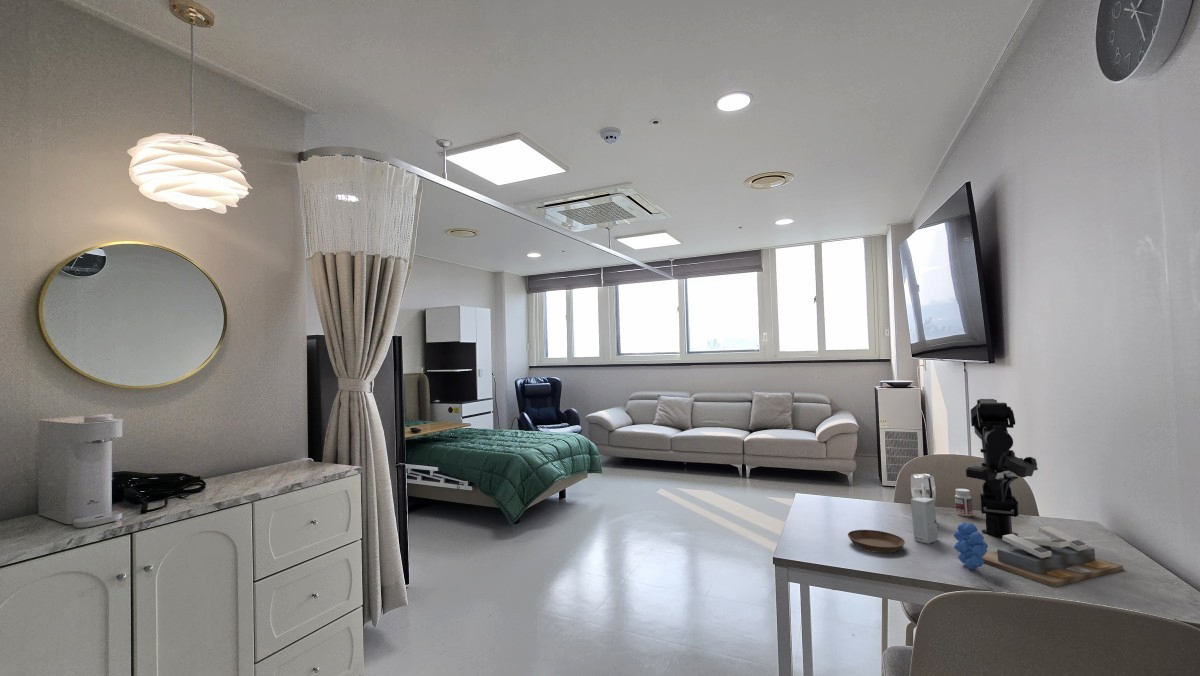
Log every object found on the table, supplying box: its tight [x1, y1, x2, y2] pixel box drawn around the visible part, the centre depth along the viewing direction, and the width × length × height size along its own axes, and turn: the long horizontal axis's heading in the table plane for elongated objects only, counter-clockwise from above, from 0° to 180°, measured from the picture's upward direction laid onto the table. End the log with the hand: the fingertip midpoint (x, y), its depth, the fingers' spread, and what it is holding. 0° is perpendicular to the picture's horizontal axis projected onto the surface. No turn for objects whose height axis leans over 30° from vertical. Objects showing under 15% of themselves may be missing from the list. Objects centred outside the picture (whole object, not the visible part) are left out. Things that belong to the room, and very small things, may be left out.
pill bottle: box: [954, 488, 974, 517], centre depth 172 cm, size 5×5×8 cm
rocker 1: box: [1001, 534, 1052, 558], centre depth 127 cm, size 4×9×1 cm, turn 18°
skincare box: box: [910, 497, 939, 544], centre depth 149 cm, size 6×4×12 cm
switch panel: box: [982, 537, 1124, 588], centre depth 129 cm, size 26×18×5 cm
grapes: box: [953, 522, 989, 571], centre depth 128 cm, size 12×7×12 cm, turn 171°
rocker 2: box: [1038, 525, 1089, 551], centre depth 131 cm, size 4×9×1 cm, turn 18°
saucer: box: [847, 529, 906, 554], centre depth 146 cm, size 15×15×3 cm
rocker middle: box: [1022, 535, 1070, 548], centre depth 129 cm, size 4×9×1 cm, turn 18°
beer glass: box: [910, 473, 936, 505], centre depth 167 cm, size 7×7×15 cm
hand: (1001, 501), depth 142 cm, fingers closed
